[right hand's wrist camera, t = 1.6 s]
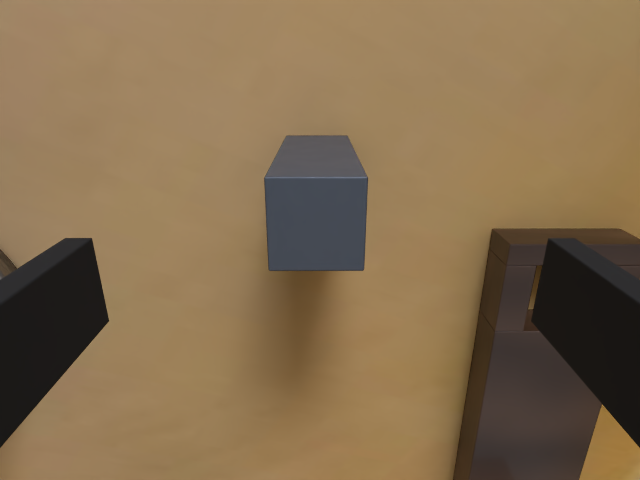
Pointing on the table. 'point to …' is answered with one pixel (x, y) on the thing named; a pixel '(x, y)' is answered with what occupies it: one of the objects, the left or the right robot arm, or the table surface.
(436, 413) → the table surface
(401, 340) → the table surface
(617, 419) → the right robot arm
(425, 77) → the table surface
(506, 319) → the walnut plank
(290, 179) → the grey peg
